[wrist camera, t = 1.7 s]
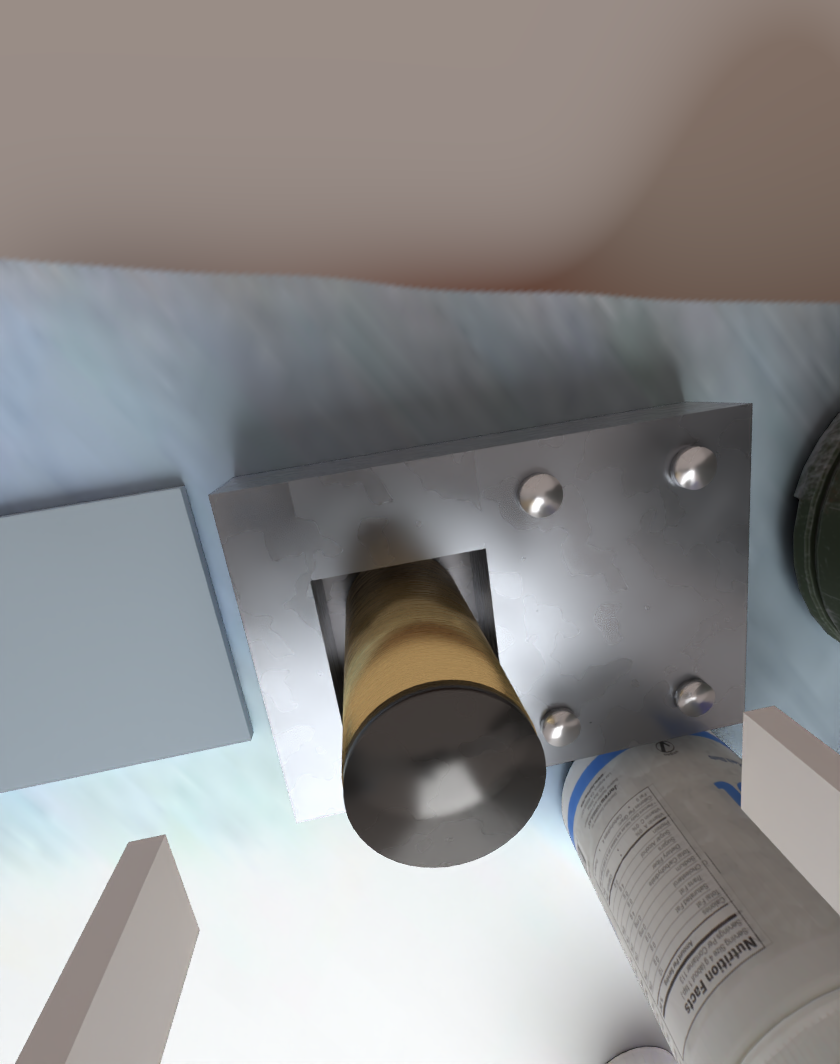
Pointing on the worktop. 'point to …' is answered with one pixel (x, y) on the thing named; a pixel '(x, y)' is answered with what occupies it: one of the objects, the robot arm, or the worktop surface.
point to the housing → (513, 575)
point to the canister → (820, 531)
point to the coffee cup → (644, 1056)
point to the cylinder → (431, 724)
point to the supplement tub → (707, 905)
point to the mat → (110, 640)
